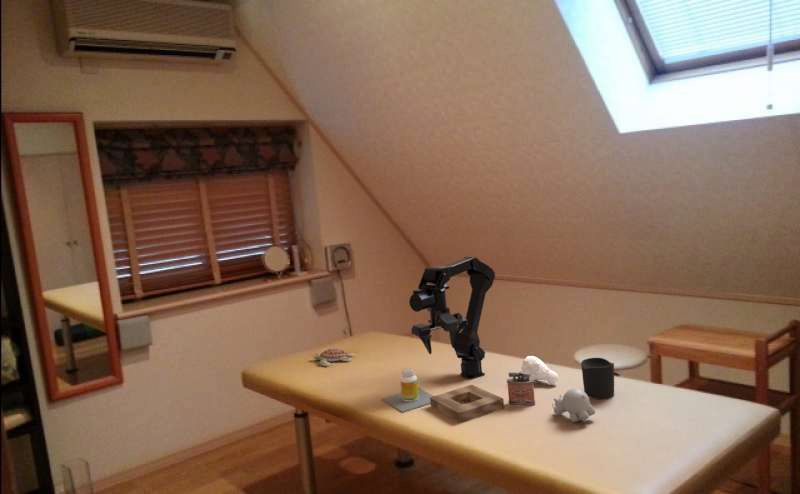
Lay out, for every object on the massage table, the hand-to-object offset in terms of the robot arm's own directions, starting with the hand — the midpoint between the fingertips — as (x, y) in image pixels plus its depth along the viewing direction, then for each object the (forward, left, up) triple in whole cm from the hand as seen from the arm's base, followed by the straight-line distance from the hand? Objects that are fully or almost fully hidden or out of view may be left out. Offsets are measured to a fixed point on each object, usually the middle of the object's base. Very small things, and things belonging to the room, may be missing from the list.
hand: (441, 350), depth 199 cm
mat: (+14, +1, -13) cm, 19 cm away
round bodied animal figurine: (-14, +44, -13) cm, 48 cm away
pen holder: (-32, +37, -13) cm, 51 cm away
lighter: (-10, +27, -13) cm, 32 cm away
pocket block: (+4, +18, -13) cm, 23 cm away
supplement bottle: (+14, +1, -13) cm, 19 cm away
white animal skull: (-26, +18, -13) cm, 34 cm away
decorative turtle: (+16, -59, -14) cm, 63 cm away
